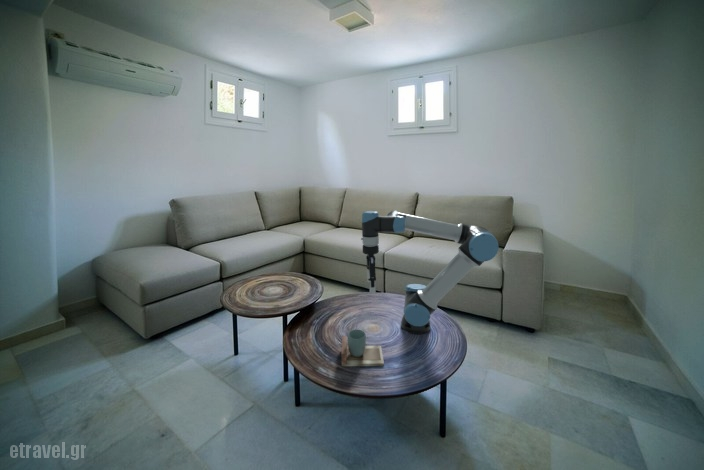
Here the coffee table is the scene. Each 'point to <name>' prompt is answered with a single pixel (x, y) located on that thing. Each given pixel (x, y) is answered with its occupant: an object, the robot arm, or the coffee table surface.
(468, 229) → the robot arm
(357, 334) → the cup
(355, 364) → the tray
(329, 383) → the coffee table surface
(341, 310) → the coffee table surface
